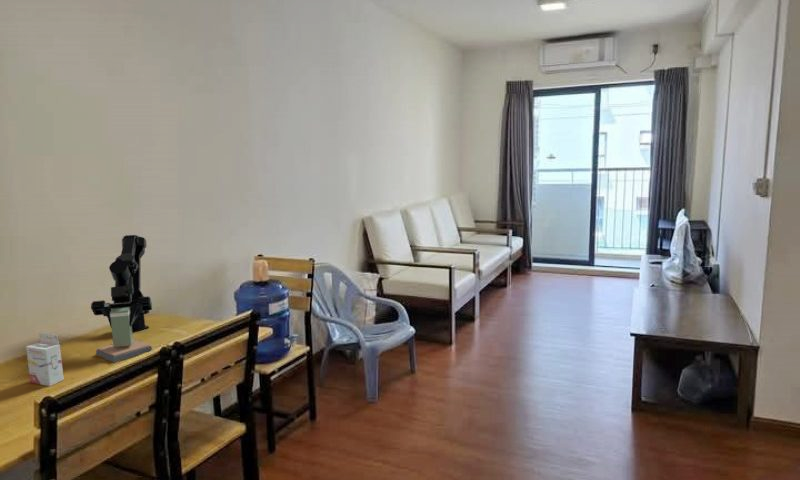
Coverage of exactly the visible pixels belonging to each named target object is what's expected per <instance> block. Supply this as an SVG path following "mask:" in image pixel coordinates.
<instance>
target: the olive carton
mask: <svg viewBox="0 0 800 480" xmlns="http://www.w3.org/2000/svg"><path fill="white" fill-rule="evenodd" d="M130 312H131V311H130V307H127V308H116V309H112V310H111V312H110V317H111V326H110V328H111V327H112V328H111V334H112V335H111V336H112V344H113V346H114V347H119V346H128V345H131V344H132V342H133V339H134V335H133V331H132V326H130V316H131V313H130Z"/></svg>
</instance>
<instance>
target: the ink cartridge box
mask: <svg viewBox="0 0 800 480" xmlns="http://www.w3.org/2000/svg"><path fill="white" fill-rule="evenodd" d="M38 337H39V339H40V340H39V342H37V343H36V342H35V343H33V344H28V345H27V346H26V347H25V348H26V349H25V350H26V356H27V365H28V373H29V381H30V383H32V384H37V385H41V386H47V387H48V386H49V387H51V386H53V385H55V384H58V383H60V382H62V381H64V378H65V377H64V369H63V361H62V354H61V345H60V342H59V337H58V335H57V334H52V333H47V332H45V333H44V332H39V333H38ZM48 337H49V338H48Z"/></svg>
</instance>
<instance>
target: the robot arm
mask: <svg viewBox="0 0 800 480" xmlns="http://www.w3.org/2000/svg"><path fill="white" fill-rule="evenodd" d="M121 248H122V249H121V253H120V255H118V256H117V257H116V258H115V259H114V261H113V262H111V264H110V265H109V267H108V269H109V272H110V274H111V277H112V279H113V281H114V286H111V287H110V297H111V301H112V303H110V302H106V301H105V300H104V299H103V300H102V299H101V300H94V301H92V303H91V304H90V309H91V312H93V315H95V316H103V317H106V318H107V320H108V322H109V325H110V328H111V329H112V327H111V317H110V312H111V310H112V309H116V308H127V307H130V311H131V312H130V313H131V316H130V326H132V333H133V332H139V331H142V330H145V329H149V328H150V326H149V325H146V321H145V320H146V319H145V315H147V314H149V313H150V311H152V310H153V303H152V299H151V297H150V296H149V295H148V296H144V294H143V293H142V292H141V267H142V266H141V264H142V263H141V262H142V261H141V258H143V256H144V254H145V252H146V248H147V240H146V238H145V237H143V236H139V235H136V234H130V235H129V234H128V235H126V234H125V235H123V237H122V239H121Z"/></svg>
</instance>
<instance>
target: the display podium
mask: <svg viewBox="0 0 800 480" xmlns="http://www.w3.org/2000/svg"><path fill="white" fill-rule="evenodd" d="M152 348H153V347H152V345H150V344H147V343H144V342H141V341H140V340H136V339H134V338H133V342H132V344H131V345H128V346H119V347H114V346H113V343H112V344H110V345H107V346H106V345H105V346H102V347H98V348H97V349H95V354H96V356H98V357H101V358H103V359H105V360H107V361H110V362H112V363H114V364H115V363H117V362H121V361H125V360H127V359H132V358H135V357H137V355H138V356H140V355H139V354H141V355H143V354H142V353H145V352H148V351H151V350H152V351H153V349H152ZM152 351H151V352H152ZM148 353H149V352H148ZM145 354H146V353H145Z"/></svg>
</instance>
